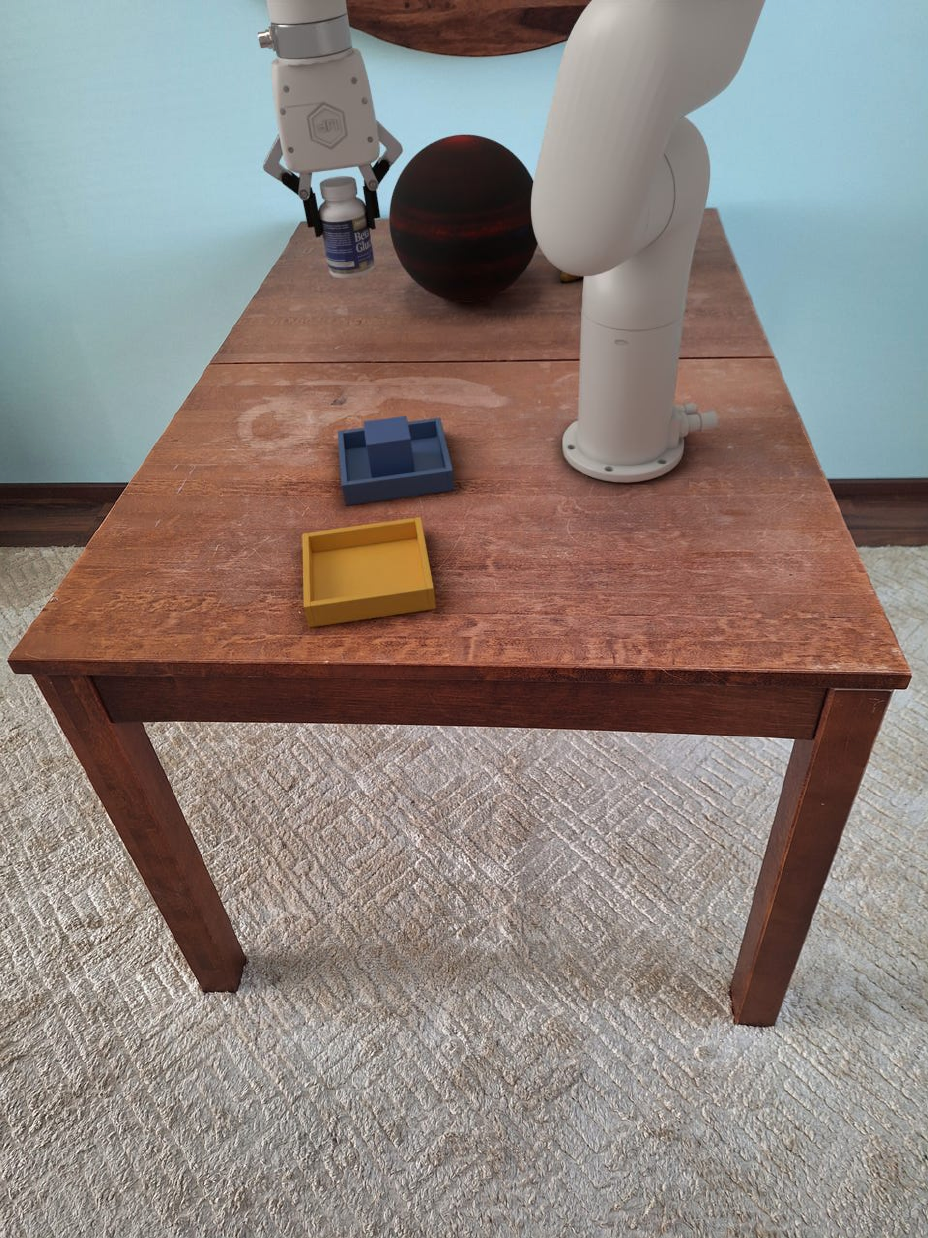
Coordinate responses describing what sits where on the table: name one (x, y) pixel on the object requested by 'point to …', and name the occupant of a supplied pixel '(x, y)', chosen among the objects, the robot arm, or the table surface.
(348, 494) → the blue tray
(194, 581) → the table surface
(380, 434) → the blue block
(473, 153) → the decorative orb
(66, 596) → the table surface
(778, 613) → the table surface
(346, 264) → the pill bottle
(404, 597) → the mustard tray
